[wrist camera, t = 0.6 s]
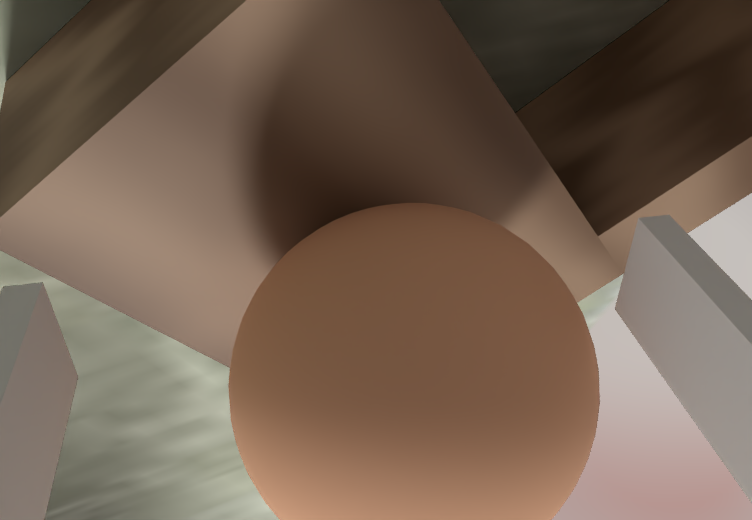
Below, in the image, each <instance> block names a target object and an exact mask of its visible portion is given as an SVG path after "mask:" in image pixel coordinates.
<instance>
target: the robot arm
mask: <svg viewBox="0 0 752 520" xmlns="http://www.w3.org/2000/svg"><path fill="white" fill-rule="evenodd" d="M615 310H616V311H617V313H618V314H619V315H620V317H621V318H622V320H623V321H624V323H625V324H626V325H627V327H628V328H629V330H630V331H631V333H632V334H633V335H634V337H635V338H636V339H637V341H638V343H639V344H640V345H641V347H642V348H643V350H644V351H645V352H646V354H647V355H648V357H649V358H650V360H651V361H652V362H653V364H654V365H655V366H656V368H657V369H658V371H659V372H660V374H661V375H662V377H663V378H664V379H665V381H666V382H667V384H668V385H669V386H670V388H671V389H672V391H673V392H674V394H675V395H676V396H677V398H678V399H679V401H680V402H681V404H682V405H683V406H684V408H685V409H686V411H687V412H688V413H689V415H690V416H691V418H692V419H693V421H694V422H695V423H696V425H697V426H698V428H699V429H700V430H701V432H702V433H703V435H704V436H705V438H706V439H707V440H708V442H709V443H710V445H711V446H712V448H713V449H714V450H715V452H716V453H717V455H718V456H719V457H720V459H721V460H722V462H723V463H724V465H725V466H726V467H727V469H728V470H729V472H730V473H731V474H732V476H733V477H734V479H735V480H736V482H737V483H738V484H739V486H740V487H741V489H742V490H743V491H744V493H745V494H746V496H747V497H748V499H749V500H750V501H751V503H752V300H751V299H750V298H749V297H748V296H747V295H746V294H745V293H744V292H743V291H742V290H741V289H740V287H738V285H737V284H736V283H735V282H734V281H733V280H732V279H731V278H730V277H729V276H728V275H727V274H726V273H725V272H724V271H723V270H722V269H721V268H720V267H719V266H718V265H717V264H716V263H715V262H714V261H713V260H712V259H711V258H710V257H709V256H708V255H707V253H706V252H705V251H704V250H703V249H702V248H701V247H700V246H699V245H698V244H697V243H696V242H695V241H694V240H693V239H692V238H691V237H690V236H689V235H688V234H687V233H686V232H685V231H684V230H683V229H682V228H681V226H680V225H679V224H678V223H677V222H676V221H675V220H674V219H673V218H672V217H671V216H670V215H661V216H652V217H642V218H638V221H637V225H636V229H635V233H634V237H633V241H632V244H631V248H630V252H629V256H628V260H627V264H626V268H625V272H624V275H623V279H622V283H621V287H620V291H619V295H618V299H617V302H616V307H615ZM77 380H78V375H77V373H76V370H75V367H74V365H73V362H72V359H71V357H70V354H69V351H68V349H67V346H66V343H65V341H64V338H63V335H62V332H61V330H60V327H59V324H58V322H57V319H56V316H55V314H54V311H53V308H52V306H51V303H50V300H49V298H48V295H47V292H46V290H45V287H44V284H43V282H42V283H32V284H23V285H14V286H5V287H3V289H2V291H1V293H0V520H44V519H45V515H46V511H47V507H48V502H49V498H50V494H51V490H52V486H53V481H54V477H55V473H56V469H57V464H58V460H59V456H60V452H61V447H62V443H63V439H64V435H65V430H66V426H67V422H68V418H69V414H70V409H71V405H72V401H73V397H74V392H75V388H76V384H77Z"/></svg>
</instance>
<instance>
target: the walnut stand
mask: <svg viewBox="0 0 752 520" xmlns="http://www.w3.org/2000/svg"><path fill="white" fill-rule="evenodd" d="M750 193H752V0H670V1H668V2H667V3H666V4H664V5H663V6H661V7H660V8H659V9H657V10H656V11H655V12H653V13H652V14H650V15H649V16H648V17H646V18H645V19H644V20H642V21H641V22H640V23H638V24H637V25H635V26H634V27H633V28H631V29H630V30H629V31H627V32H626V33H624V34H623V35H622V36H620V37H619V38H618V39H616V40H615V41H613V42H612V43H611V44H609V45H608V46H607V47H605V48H604V49H602V50H601V51H600V52H598V53H597V54H596V55H594V56H593V57H592V58H590V59H589V60H587V61H586V62H585V63H583V64H582V65H581V66H579V67H578V68H576V69H575V70H574V71H572V72H571V73H570V74H568V75H567V76H565V77H564V78H563V79H561V80H560V81H559V82H557V83H556V84H555V85H553V86H552V87H550V88H549V89H548V90H546V91H545V92H544V93H542V94H541V95H539V96H538V97H537V98H535V99H534V100H533V101H531V102H530V103H528V104H527V105H526V106H524V107H523V108H522V109H520V110H519V111H517V112H516V113H515V112H514V111H513V109H512V108H511V106H510V105H509V103H508V102H507V100H506V99H505V97H504V96H503V94H502V93H501V92H500V90H499V89H498V87H497V86H496V84H495V83H494V81H493V80H492V78H491V77H490V75H489V74H488V72H487V71H486V69H485V68H484V66H483V65H482V63H481V62H480V60H479V59H478V57H477V56H476V54H475V53H474V51H473V50H472V48H471V47H470V45H469V44H468V42H467V41H466V39H465V38H464V36H463V35H462V33H461V32H460V30H459V29H458V28H457V26H456V25H455V23H454V22H453V20H452V19H451V17H450V16H449V14H448V13H447V11H446V10H445V8H444V7H443V5H442V4H441V2H440V1H439V0H91V1H90V2H89V3H88V4H87V5H86V6H85V7H84V8H83V9H81V10H80V11H79V12H78V13H77V14H76V15H75V16H74V17H73V18H72V19H71V20H70V21H69V22H68V23H67V24H66V25H65V26H64V27H63V28H62V29H61V30H60V31H58V32H57V33H56V34H55V35H54V36H53V37H52V38H51V39H50V40H49V41H48V42H47V43H46V44H45V45H44V46H43V47H42V48H41V49H40V50H39V51H38V52H37V53H35V54H34V55H33V56H32V57H31V58H30V59H29V60H28V61H27V62H26V63H25V64H24V65H23V66H22V67H21V68H20V69H19V70H18V71H17V72H16V73H15V74H13V75H12V76H11V77H10V78H9V79H8V80H7V81H6V83H5V89H4V94H3V99H2V105H1V110H0V250H1V251H3V252H5V253H7V254H9V255H11V256H13V257H15V258H17V259H19V260H20V261H22V262H24V263H26V264H28V265H30V266H32V267H34V268H36V269H38V270H40V271H42V272H44V273H46V274H48V275H50V276H52V277H54V278H56V279H58V280H60V281H61V282H63V283H65V284H67V285H69V286H71V287H73V288H75V289H77V290H79V291H81V292H83V293H85V294H87V295H89V296H91V297H93V298H95V299H97V300H99V301H101V302H102V303H104V304H106V305H108V306H110V307H112V308H114V309H116V310H118V311H120V312H122V313H124V314H126V315H128V316H130V317H132V318H134V319H136V320H138V321H140V322H142V323H144V324H145V325H147V326H149V327H151V328H153V329H155V330H157V331H159V332H161V333H163V334H165V335H167V336H169V337H171V338H173V339H175V340H177V341H179V342H181V343H183V344H185V345H186V346H188V347H190V348H192V349H194V350H196V351H198V352H200V353H202V354H204V355H206V356H208V357H210V358H212V359H214V360H216V361H218V362H220V363H222V364H224V365H226V366H227V367H229V368H230V364H231V358H232V351H233V347H234V343H235V340H236V336H237V332H238V329H239V327H240V324H241V321H242V318H243V316H244V314H245V312H246V309H247V307H248V305H249V303H250V301H251V299H252V298H253V296H254V294H255V292H256V290H257V288H258V287H259V286H260V284H261V283H262V282H263V280H264V279H265V278H266V276H267V275H268V274H269V272H270V271H271V270H272V268H273V267H274V266H275V265H276V264H277V262H278V261H279V260H280V259H281V258H282V257H283V256H284V255H285V254H286V253H287V252H288V251H289V250H291V249H292V248H293V247H294V246H295V245H297V244H298V243H299V242H300V241H301V240H303V239H304V238H306V237H307V236H309V235H310V234H312V233H313V232H315V231H316V230H318V229H319V228H321V227H323V226H325V225H327V224H328V223H330V222H332V221H334V220H336V219H339V218H341V217H343V216H346V215H348V214H351V213H354V212H357V211H360V210H364V209H367V208H372V207H377V206H382V205H390V204H400V203H428V204H436V205H443V206H448V207H453V208H457V209H461V210H465V211H469V212H472V213H474V214H476V215H479V216H481V217H483V218H486V219H488V220H490V221H492V222H495V223H497V224H499V225H501V226H503V227H504V228H506V229H507V230H509V231H510V232H512V233H513V234H515V235H516V236H518V237H519V238H521V239H522V240H524V241H525V242H527V243H528V244H529V245H530V246H531V247H533V248H534V249H535V250H536V251H537V252H538V253H539V254H540V255H541V256H542V257H543V258H544V259H545V260H546V261H547V262H548V263H549V264H550V265H551V266H552V267H553V268H554V269H555V271H556V272H557V273H558V274H559V276H560V277H561V278H562V280H563V281H564V282H565V284H566V285H567V287H568V288H569V290H570V292H571V293H572V295H573V296H574V298H575V300H576V302H579V301H580V300H582V299H584V298H585V297H587V296H588V295H590V294H592V293H593V292H595V291H596V290H598V289H600V288H601V287H603V286H604V285H606V284H608V283H609V282H611V281H612V280H614V279H615V278H617V277H619V276H620V275H622V274H623V273H624V272H625V268H626V264H627V260H628V256H629V252H630V248H631V244H632V241H633V237H634V233H635V229H636V225H637V221H638V218H642V217H652V216H661V215H670V216H671V217H672V218H673V219H674V220H675V221H676V222H677V223H678V224H679V225H680V226H681V228H682V229H683V230H684V231H685V232H686V233H689V232H690V231H692V230H693V229H695V228H696V227H698V226H699V225H701V224H703V223H704V222H706V221H708V220H709V219H711V218H712V217H714V216H716V215H717V214H719V213H720V212H722V211H723V210H725V209H727V208H728V207H730V206H731V205H733V204H735V203H736V202H738V201H739V200H741V199H742V198H744V197H746V196H747V195H749V194H750Z"/></svg>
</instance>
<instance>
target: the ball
mask: <svg viewBox="0 0 752 520" xmlns="http://www.w3.org/2000/svg"><path fill="white" fill-rule="evenodd" d="M599 398H600V396H599V371H598V364H597V359H596V354H595V348H594V345H593V342H592V339H591V335H590V333H589V330H588V327H587V324H586V321H585V318H584V315H583V313H582V311H581V309H580V308H579V306H578V304H577V302H576V300H575V298H574V296H573V295H572V293H571V292H570V290H569V288H568V287H567V285H566V284H565V282H564V281H563V280H562V278H561V277H560V276H559V274H558V273H557V272H556V271H555V269H554V268H553V267H552V266H551V265H550V264H549V263H548V262H547V261H546V260H545V259H544V258H543V257H542V256H541V255H540V254H539V253H538V252H537V251H536V250H535V249H534V248H533V247H531V246H530V245H529V244H528V243H527V242H525V241H524V240H522V239H521V238H519V237H518V236H516V235H515V234H513V233H512V232H510V231H509V230H507V229H506V228H504V227H503V226H501V225H499V224H497V223H495V222H492V221H490V220H488V219H486V218H483V217H481V216H479V215H476V214H474V213H472V212H469V211H465V210H461V209H457V208H453V207H448V206H443V205H436V204H428V203H400V204H390V205H382V206H377V207H372V208H367V209H364V210H360V211H357V212H354V213H351V214H348V215H346V216H343V217H341V218H339V219H336V220H334V221H332V222H330V223H328V224H327V225H325V226H323V227H321V228H319V229H318V230H316V231H315V232H313V233H312V234H310V235H309V236H307V237H306V238H304V239H303V240H301V241H300V242H299V243H298V244H297V245H295V246H294V247H293V248H292V249H291V250H289V251H288V252H287V253H286V254H285V255H284V256H283V257H282V258H281V259H280V260H279V261H278V262H277V264H276V265H275V266H274V267H273V268H272V270H271V271H270V272H269V274H268V275H267V276H266V278H265V279H264V280H263V282H262V283H261V284H260V286H259V287H258V288H257V290H256V292H255V294H254V296H253V298H252V299H251V301H250V303H249V305H248V307H247V309H246V312H245V314H244V316H243V318H242V321H241V324H240V327H239V329H238V332H237V336H236V340H235V343H234V347H233V351H232V358H231V364H230V375H229V399H230V413H231V422H232V427H233V431H234V435H235V440H236V443H237V446H238V449H239V452H240V455H241V458H242V460H243V463H244V465H245V468H246V470H247V472H248V475H249V476H250V478H251V480H252V481H253V483H254V485H255V486H256V488H257V490H258V491H259V493H260V495H261V496H262V498H263V499H264V501H265V502H266V504H267V505H268V506H269V507H270V509H271V510H272V511H273V512H274V513H275V515H276V516H277V517H278V518H279V519H280V520H551V519H552V518H553V517H554V516H555V515H556V513H557V512H558V511H559V510H560V508H561V507H562V506H563V504H564V503H565V501H566V500H567V499H568V497H569V495H570V494H571V492H572V491H573V490H574V487H575V486H576V484H577V482H578V480H579V478H580V475H581V474H582V472H583V470H584V467H585V465H586V462H587V460H588V457H589V455H590V451H591V448H592V444H593V441H594V437H595V433H596V428H597V421H598V413H599V404H600V399H599Z"/></svg>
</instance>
